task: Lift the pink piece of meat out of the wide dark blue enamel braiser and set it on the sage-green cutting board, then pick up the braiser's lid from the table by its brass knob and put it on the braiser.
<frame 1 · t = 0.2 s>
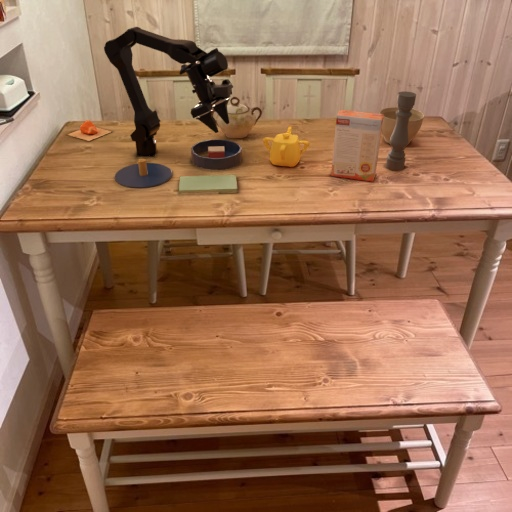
hand: (222, 128, 168), 14 cm above the table, tool tilted 30°, fingers open, 9 cm apart
cracker box: (352, 176, 172), on the table
candle holder: (394, 167, 178), on the table
board: (208, 186, 164), on the table
planter bowl: (397, 141, 198), on the table
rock: (89, 133, 202), on the table
lid: (143, 175, 169), point 1 cm above the table
teapot: (285, 161, 181), on the table
meat: (216, 159, 181), resting on pot
sugar bowl: (236, 135, 202), on the table
pot: (216, 160, 181), on the table
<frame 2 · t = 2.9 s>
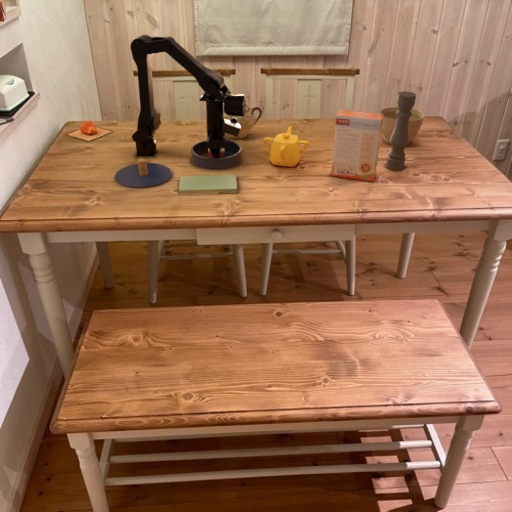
hand: (216, 158, 181), 1 cm above the table, tool pointing down, fingers closed on meat, 4 cm apart
meat: (216, 159, 181), point 1 cm above the table, touching gripper, pot
everything else where it was.
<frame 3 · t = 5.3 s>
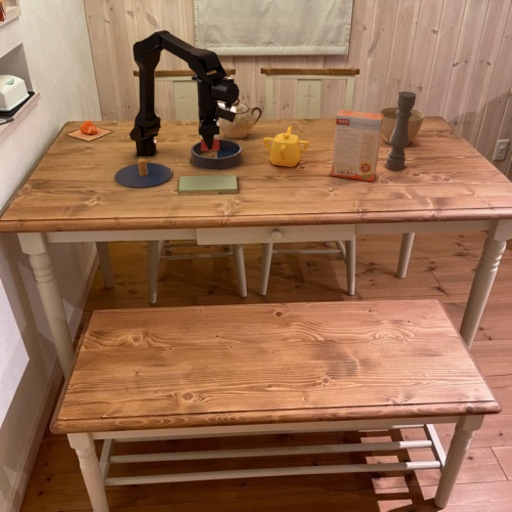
hand: (210, 146, 162), 11 cm above the table, tool pointing down, fingers closed on meat, 4 cm apart
meat: (210, 148, 163), point 11 cm above the table, touching gripper
everything else where it was.
when the fingers open (2 cm above the table, at t = 8.2 s): meat stays where it is, resting on board.
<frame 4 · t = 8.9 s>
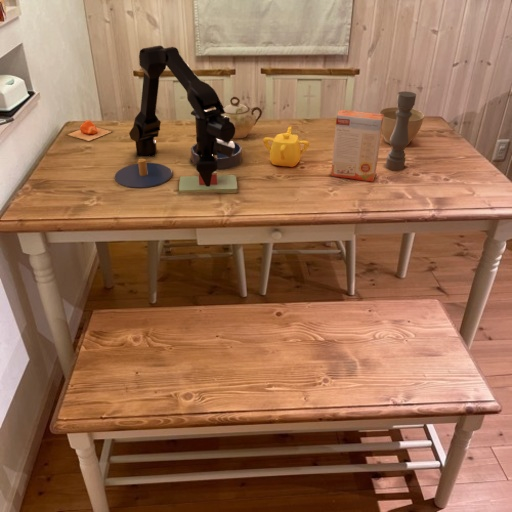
hand: (208, 179, 163), 2 cm above the table, tool pointing down, fingers open, 9 cm apart
meat: (208, 182, 164), point 1 cm above the table, touching board
everything else where it was.
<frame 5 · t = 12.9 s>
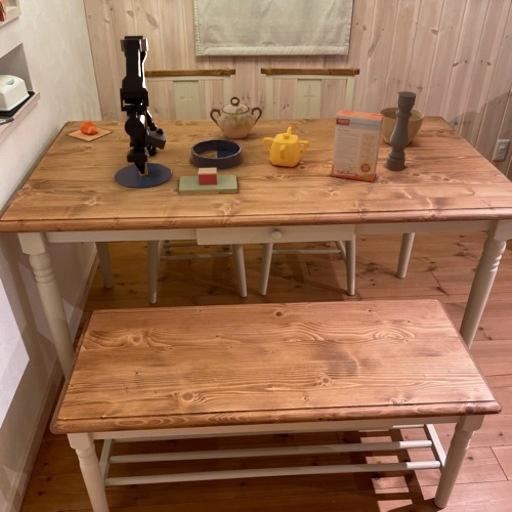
hand: (143, 171, 168), 2 cm above the table, tool pointing down, fingers closed on lid, 3 cm apart
lid: (143, 175, 169), point 1 cm above the table, touching gripper
everything else where it was.
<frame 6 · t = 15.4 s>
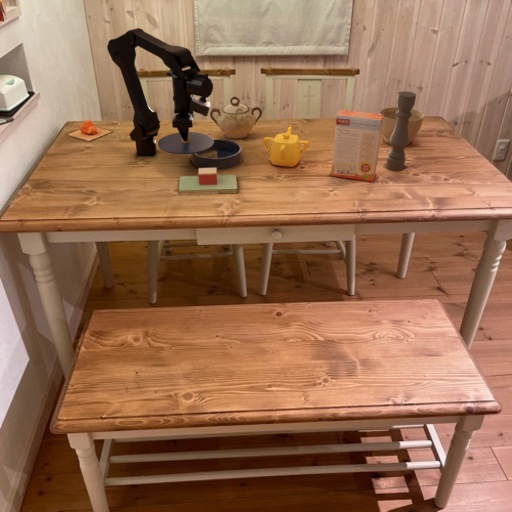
hand: (185, 139, 171), 10 cm above the table, tool pointing down, fingers closed on lid, 3 cm apart
lid: (186, 143, 171), point 9 cm above the table, touching gripper
everything else where it was.
when the fingers open (6 cm above the table, at t = 17.8 s): lid stays where it is, resting on pot.
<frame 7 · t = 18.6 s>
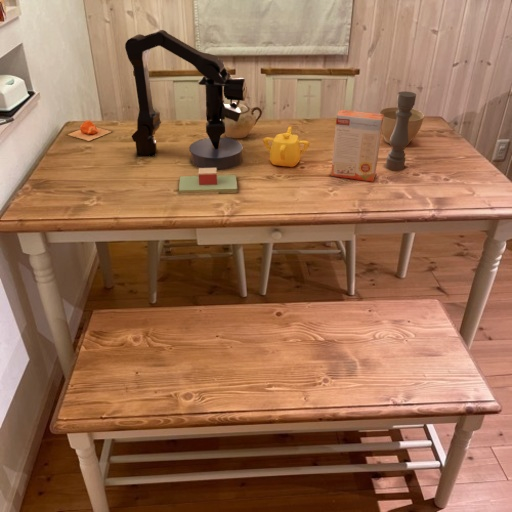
hand: (216, 143, 178), 6 cm above the table, tool pointing down, fingers open, 9 cm apart
lid: (216, 148, 179), point 4 cm above the table, touching pot
everything else where it was.
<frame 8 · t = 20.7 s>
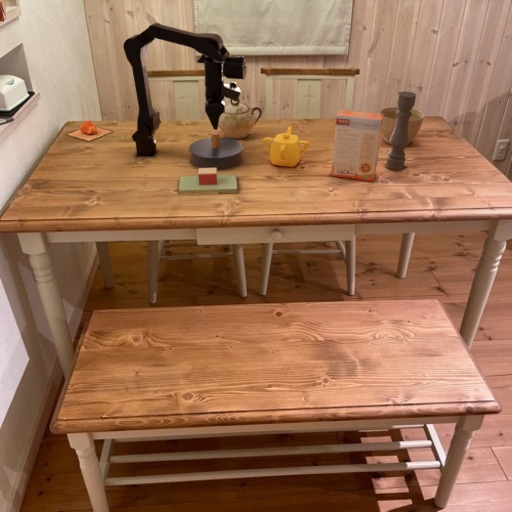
hand: (215, 124, 174), 13 cm above the table, tool pointing down, fingers open, 9 cm apart
nothing on the table moved.
at the end: meat inside the target area on the board (0.1 cm from its centre), point 1.5 cm above the board's base; lid 0.1 cm off-centre on the pot, point 4.5 cm above the pot's base; lid tilted 0° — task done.
